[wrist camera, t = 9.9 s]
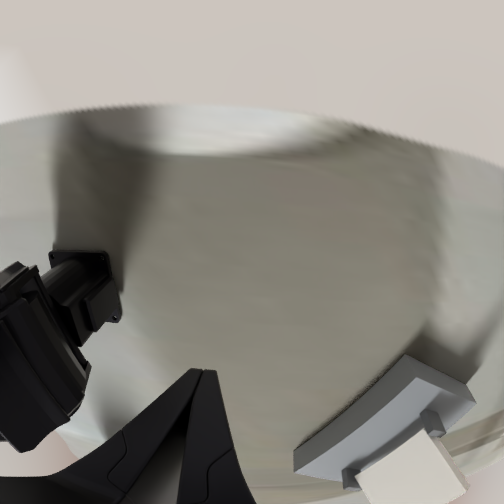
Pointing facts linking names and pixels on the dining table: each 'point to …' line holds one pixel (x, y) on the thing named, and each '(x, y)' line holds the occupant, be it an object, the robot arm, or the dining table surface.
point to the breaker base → (384, 422)
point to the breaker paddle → (414, 474)
